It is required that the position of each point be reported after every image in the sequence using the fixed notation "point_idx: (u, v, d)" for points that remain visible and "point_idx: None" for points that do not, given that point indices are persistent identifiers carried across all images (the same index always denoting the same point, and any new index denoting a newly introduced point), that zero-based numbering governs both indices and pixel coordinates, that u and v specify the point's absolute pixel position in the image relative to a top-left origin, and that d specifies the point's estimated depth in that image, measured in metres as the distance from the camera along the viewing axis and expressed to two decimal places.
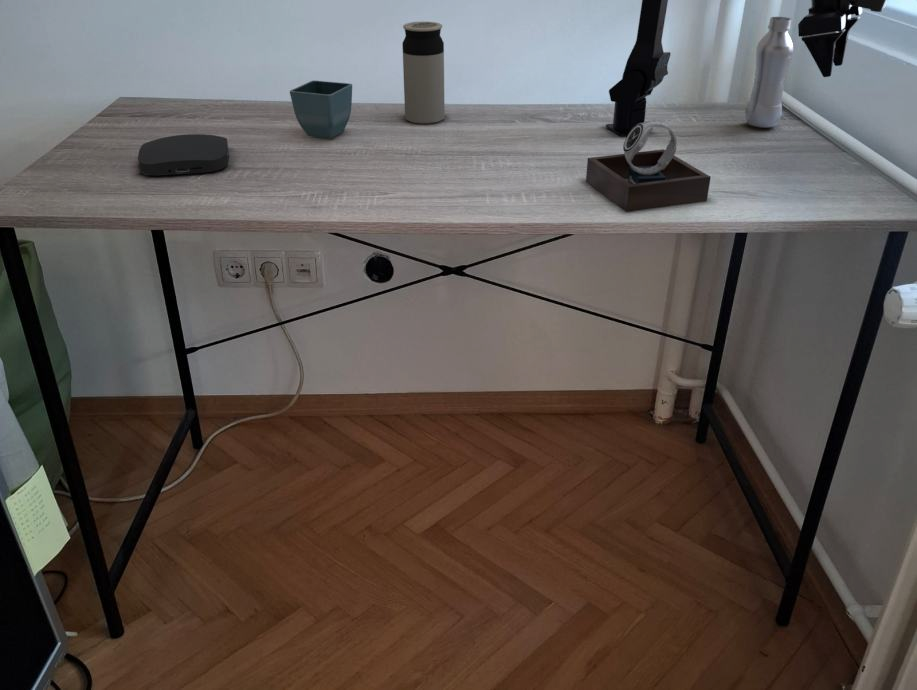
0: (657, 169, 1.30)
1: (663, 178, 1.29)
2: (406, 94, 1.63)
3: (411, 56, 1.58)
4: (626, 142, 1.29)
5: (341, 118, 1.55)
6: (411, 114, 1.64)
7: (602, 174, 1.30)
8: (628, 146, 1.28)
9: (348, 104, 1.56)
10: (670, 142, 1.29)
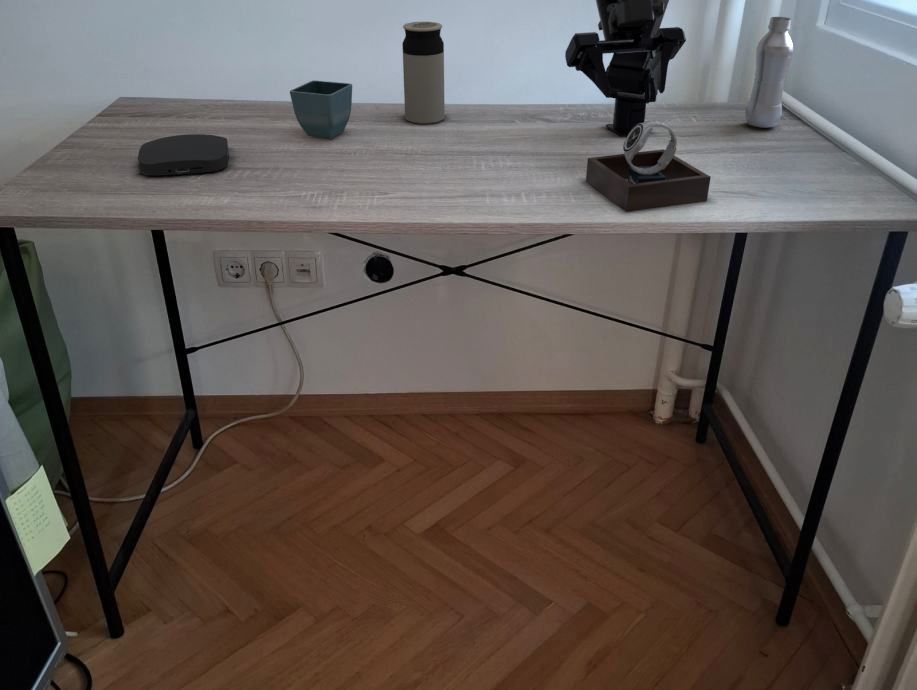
0: (657, 169, 1.30)
1: (663, 178, 1.29)
2: (406, 94, 1.63)
3: (411, 56, 1.58)
4: (626, 142, 1.29)
5: (341, 118, 1.55)
6: (411, 114, 1.64)
7: (602, 174, 1.30)
8: (628, 146, 1.28)
9: (348, 104, 1.56)
10: (670, 142, 1.29)
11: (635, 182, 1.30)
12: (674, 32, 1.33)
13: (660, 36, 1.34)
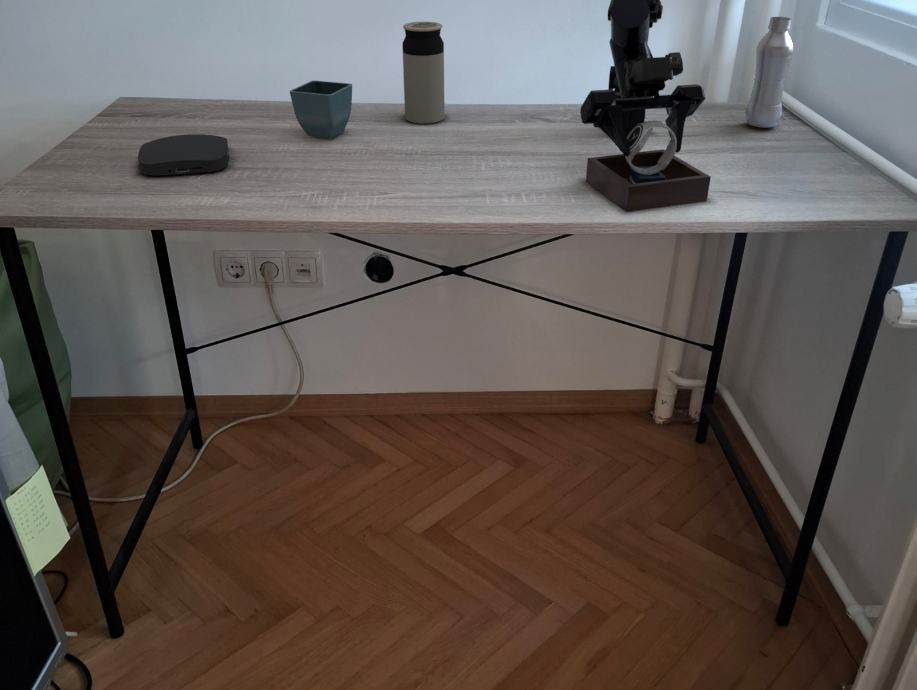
0: (657, 169, 1.30)
1: (663, 178, 1.29)
2: (406, 94, 1.63)
3: (411, 56, 1.58)
4: None
5: (341, 118, 1.55)
6: (411, 114, 1.64)
7: (602, 174, 1.30)
8: None
9: (348, 104, 1.56)
10: (670, 142, 1.29)
11: (635, 182, 1.30)
12: (693, 90, 1.28)
13: (678, 93, 1.30)
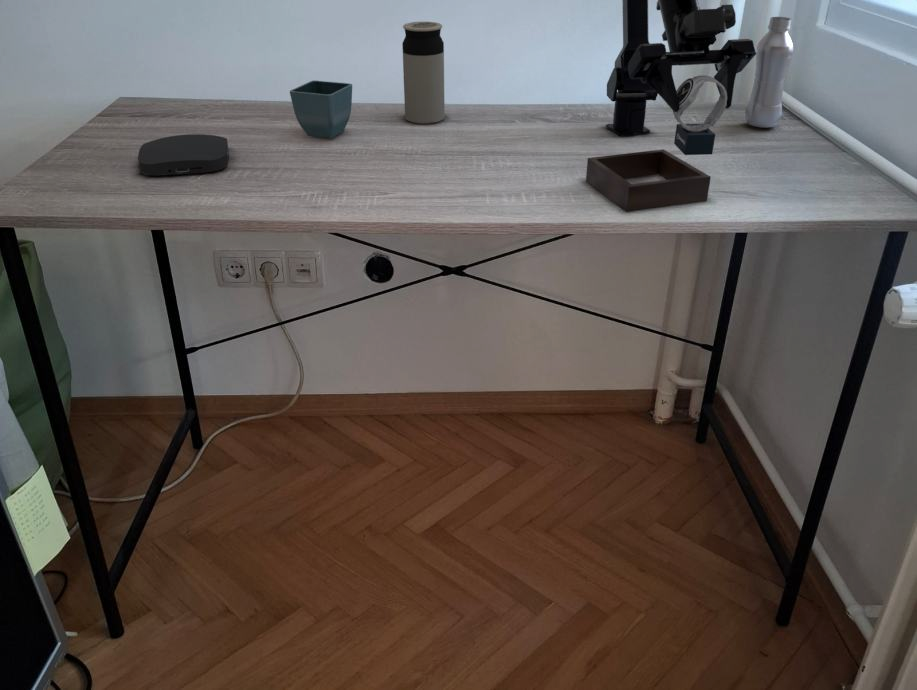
0: (706, 126, 1.28)
1: (712, 135, 1.26)
2: (406, 94, 1.63)
3: (411, 56, 1.58)
4: None
5: (341, 118, 1.55)
6: (411, 114, 1.64)
7: (602, 174, 1.30)
8: None
9: (348, 104, 1.56)
10: (720, 98, 1.26)
11: (683, 139, 1.28)
12: (744, 44, 1.25)
13: (729, 48, 1.27)
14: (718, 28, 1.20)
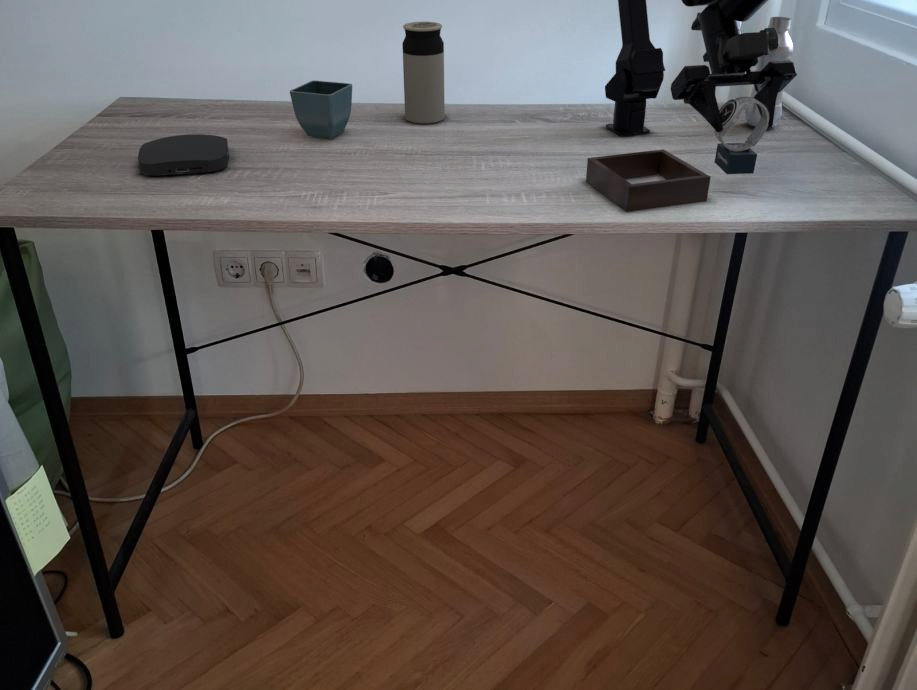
0: (747, 146, 1.30)
1: (754, 155, 1.29)
2: (406, 94, 1.63)
3: (411, 56, 1.58)
4: None
5: (341, 118, 1.55)
6: (411, 114, 1.64)
7: (602, 174, 1.30)
8: None
9: (348, 104, 1.56)
10: (761, 118, 1.29)
11: (725, 159, 1.30)
12: (785, 66, 1.28)
13: (770, 69, 1.29)
14: (762, 51, 1.22)
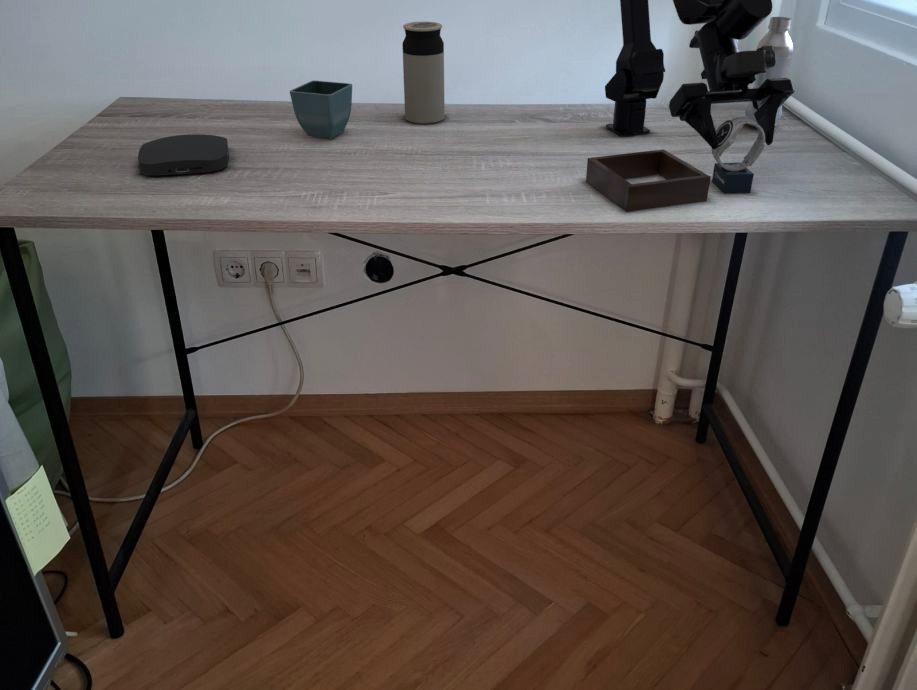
0: (744, 165, 1.32)
1: (751, 174, 1.30)
2: (406, 94, 1.63)
3: (411, 56, 1.58)
4: None
5: (341, 118, 1.55)
6: (411, 114, 1.64)
7: (602, 174, 1.30)
8: None
9: (348, 104, 1.56)
10: (758, 139, 1.31)
11: (722, 178, 1.32)
12: (783, 83, 1.29)
13: (767, 87, 1.31)
14: (759, 69, 1.24)
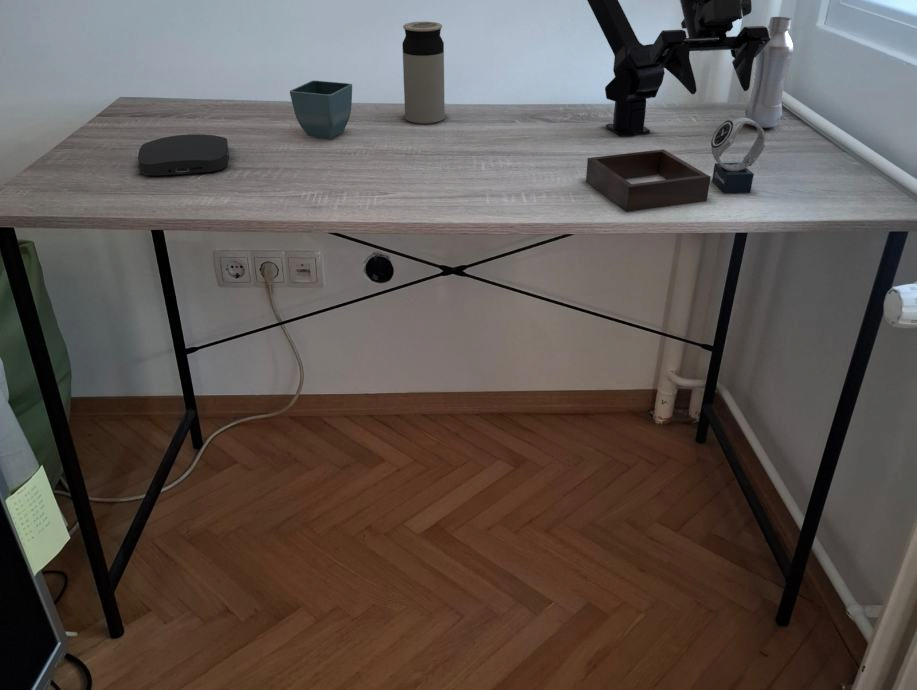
0: (744, 165, 1.32)
1: (751, 174, 1.30)
2: (406, 94, 1.63)
3: (411, 56, 1.58)
4: (714, 139, 1.31)
5: (341, 118, 1.55)
6: (411, 114, 1.64)
7: (602, 174, 1.30)
8: (717, 142, 1.30)
9: (348, 104, 1.56)
10: (758, 139, 1.31)
11: (722, 178, 1.32)
12: (759, 31, 1.34)
13: (745, 35, 1.35)
14: (736, 15, 1.28)
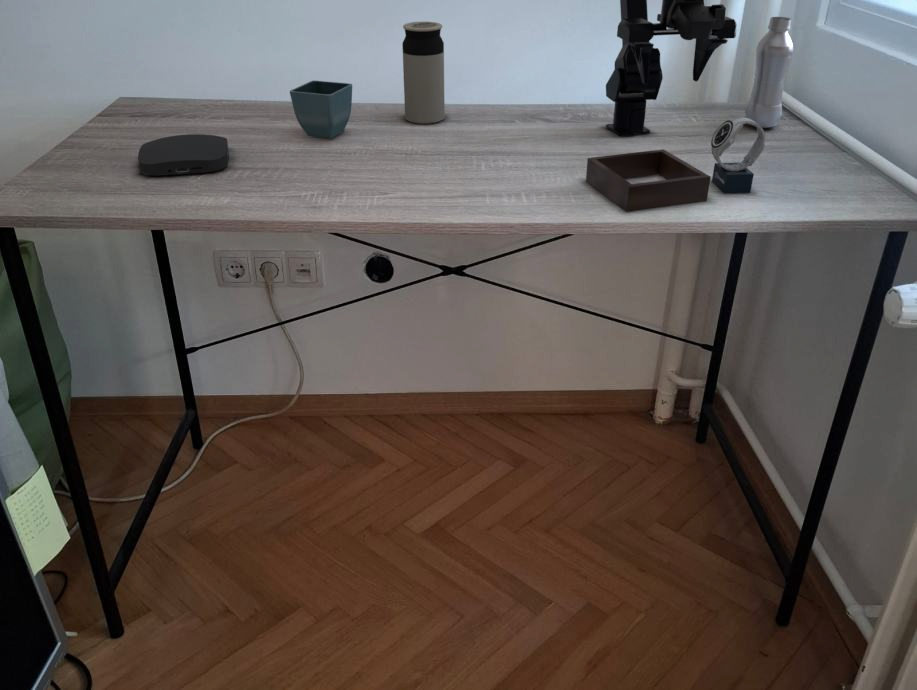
0: (744, 165, 1.32)
1: (751, 174, 1.30)
2: (406, 94, 1.63)
3: (411, 56, 1.58)
4: (714, 139, 1.31)
5: (341, 118, 1.55)
6: (411, 114, 1.64)
7: (602, 174, 1.30)
8: (717, 142, 1.30)
9: (348, 104, 1.56)
10: (758, 139, 1.31)
11: (722, 178, 1.32)
12: (727, 30, 1.34)
13: None
14: (703, 37, 1.29)
